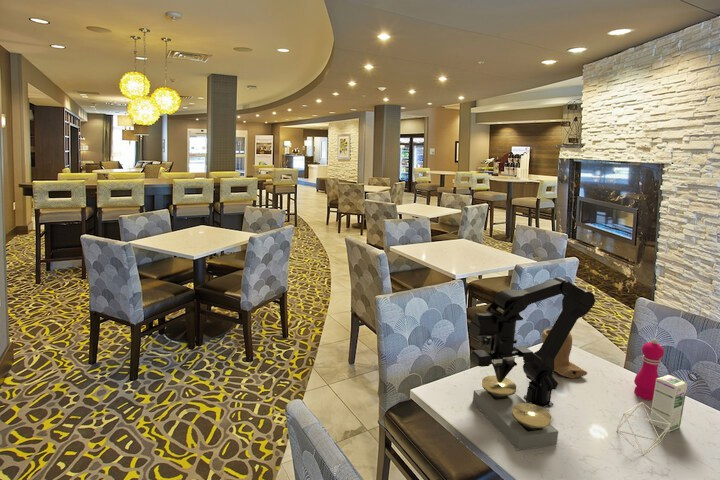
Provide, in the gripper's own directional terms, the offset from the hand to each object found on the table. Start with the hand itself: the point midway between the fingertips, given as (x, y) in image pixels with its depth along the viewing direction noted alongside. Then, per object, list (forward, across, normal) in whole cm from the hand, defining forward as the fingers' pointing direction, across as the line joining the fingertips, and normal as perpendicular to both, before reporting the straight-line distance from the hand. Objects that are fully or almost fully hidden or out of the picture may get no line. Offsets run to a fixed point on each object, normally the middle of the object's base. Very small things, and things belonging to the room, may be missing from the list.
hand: (499, 381), depth 140 cm
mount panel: (+8, 0, +8) cm, 12 cm away
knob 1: (+5, 0, 0) cm, 5 cm away
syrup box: (+9, -44, +19) cm, 49 cm away
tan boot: (+9, -36, -17) cm, 41 cm away
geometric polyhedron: (+9, -30, +24) cm, 39 cm away
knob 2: (+5, 0, +16) cm, 17 cm away
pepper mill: (+9, -53, +4) cm, 54 cm away
